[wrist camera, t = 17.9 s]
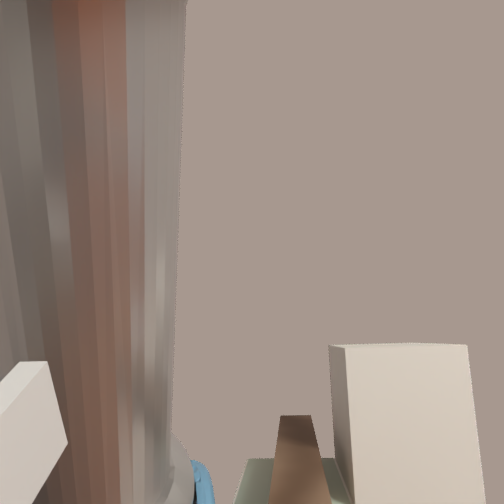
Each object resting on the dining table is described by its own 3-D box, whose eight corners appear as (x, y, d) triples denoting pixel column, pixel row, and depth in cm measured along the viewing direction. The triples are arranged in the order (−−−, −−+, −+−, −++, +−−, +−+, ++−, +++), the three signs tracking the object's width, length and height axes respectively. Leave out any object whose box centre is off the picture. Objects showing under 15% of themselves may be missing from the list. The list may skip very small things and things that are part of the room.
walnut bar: (267, 602, 18) (265, 521, 19) (281, 447, 44) (280, 415, 44) (341, 603, 18) (336, 522, 18) (312, 447, 43) (310, 415, 44)
